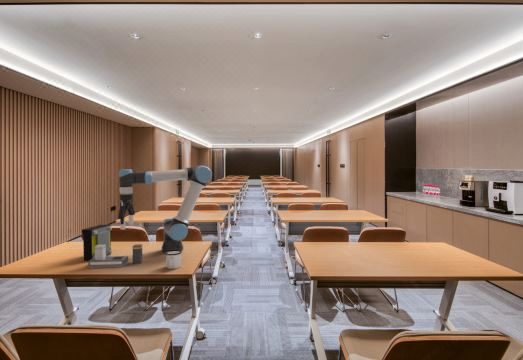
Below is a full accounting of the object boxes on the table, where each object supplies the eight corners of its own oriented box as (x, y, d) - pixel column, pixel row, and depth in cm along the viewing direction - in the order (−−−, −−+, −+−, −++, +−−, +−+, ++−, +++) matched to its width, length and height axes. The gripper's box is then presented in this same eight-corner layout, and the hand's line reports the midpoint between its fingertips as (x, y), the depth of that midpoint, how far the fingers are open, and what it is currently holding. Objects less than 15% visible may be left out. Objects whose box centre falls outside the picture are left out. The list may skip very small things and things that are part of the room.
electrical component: (95, 261, 193) (94, 230, 192) (81, 260, 195) (80, 229, 194) (113, 253, 210) (113, 225, 210) (100, 253, 212) (100, 224, 212)
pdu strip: (128, 262, 192) (128, 255, 192) (123, 266, 183) (123, 260, 182) (95, 263, 190) (95, 256, 190) (88, 267, 181) (88, 261, 181)
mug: (167, 264, 187) (167, 250, 187) (183, 264, 187) (183, 249, 187) (162, 271, 175) (162, 255, 175) (178, 270, 175) (178, 255, 175)
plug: (142, 261, 193) (142, 244, 193) (140, 263, 189) (140, 246, 188) (135, 261, 193) (134, 244, 192) (132, 263, 188) (132, 246, 188)
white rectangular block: (106, 262, 188) (105, 244, 188) (102, 264, 184) (102, 246, 183) (98, 262, 188) (97, 244, 187) (94, 264, 183) (94, 246, 183)
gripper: (127, 192, 204) (128, 223, 205) (111, 195, 179) (112, 231, 180) (139, 192, 204) (139, 223, 205) (124, 195, 179) (125, 231, 180)
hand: (127, 227), depth 193 cm, fingers open, 13 cm apart
